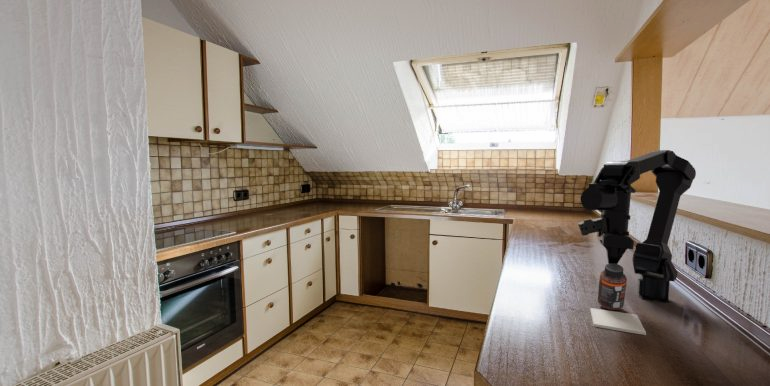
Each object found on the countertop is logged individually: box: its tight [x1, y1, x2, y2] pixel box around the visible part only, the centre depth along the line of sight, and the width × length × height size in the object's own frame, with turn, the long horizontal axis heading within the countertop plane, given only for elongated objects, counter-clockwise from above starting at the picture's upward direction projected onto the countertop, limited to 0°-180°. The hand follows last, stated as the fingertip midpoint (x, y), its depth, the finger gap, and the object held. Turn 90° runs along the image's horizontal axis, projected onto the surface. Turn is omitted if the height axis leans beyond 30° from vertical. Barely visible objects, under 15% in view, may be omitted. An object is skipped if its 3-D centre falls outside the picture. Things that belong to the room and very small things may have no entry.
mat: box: [589, 307, 647, 336], centre depth 88 cm, size 10×11×1 cm
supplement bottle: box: [597, 263, 628, 311], centre depth 95 cm, size 6×6×11 cm
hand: (611, 269), depth 97 cm, fingers closed, pressing on supplement bottle
